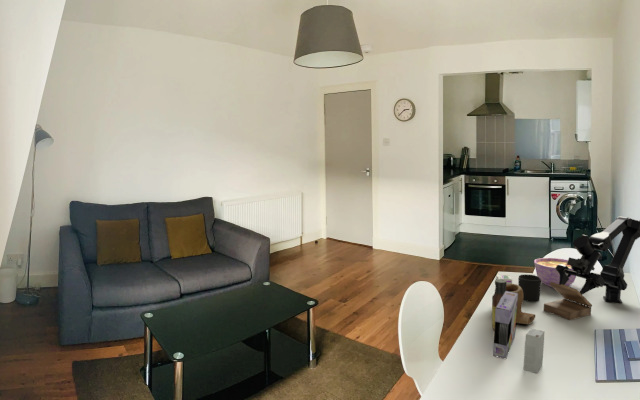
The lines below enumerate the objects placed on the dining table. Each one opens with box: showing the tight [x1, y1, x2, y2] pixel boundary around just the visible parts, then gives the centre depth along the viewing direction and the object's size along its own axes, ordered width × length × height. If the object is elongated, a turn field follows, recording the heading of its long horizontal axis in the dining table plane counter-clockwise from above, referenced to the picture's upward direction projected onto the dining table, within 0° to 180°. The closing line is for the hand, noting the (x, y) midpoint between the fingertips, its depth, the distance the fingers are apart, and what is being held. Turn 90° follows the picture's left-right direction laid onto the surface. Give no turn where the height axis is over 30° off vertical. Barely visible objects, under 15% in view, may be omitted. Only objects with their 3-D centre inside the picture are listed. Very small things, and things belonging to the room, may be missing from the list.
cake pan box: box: [492, 291, 518, 359], centre depth 155 cm, size 19×5×18 cm, turn 148°
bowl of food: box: [533, 257, 577, 289], centre depth 221 cm, size 20×20×12 cm
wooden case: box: [543, 298, 592, 321], centre depth 187 cm, size 13×12×3 cm
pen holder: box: [517, 274, 542, 303], centre depth 204 cm, size 9×9×10 cm
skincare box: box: [523, 328, 545, 374], centre depth 141 cm, size 6×4×12 cm
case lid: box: [550, 282, 593, 308], centre depth 187 cm, size 13×12×2 cm
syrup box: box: [495, 274, 513, 284], centre depth 191 cm, size 6×6×14 cm
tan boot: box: [506, 283, 536, 325], centre depth 178 cm, size 15×12×15 cm
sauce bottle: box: [491, 279, 507, 332], centre depth 169 cm, size 6×6×20 cm
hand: (569, 291), depth 187 cm, fingers open, 9 cm apart
